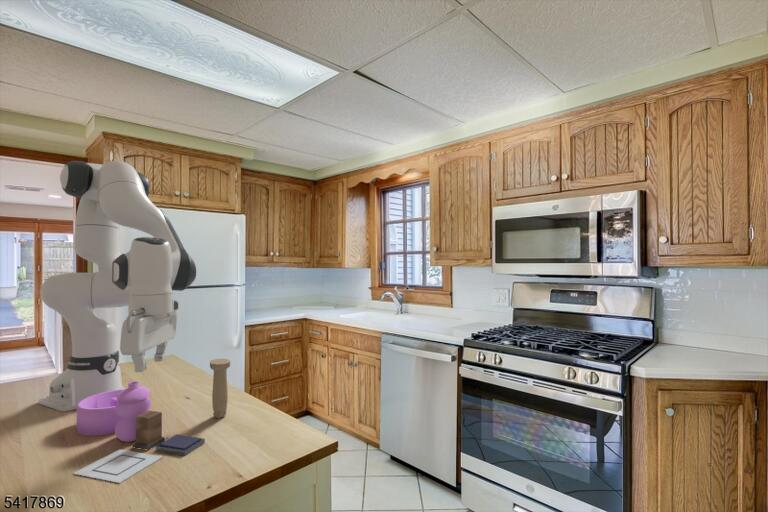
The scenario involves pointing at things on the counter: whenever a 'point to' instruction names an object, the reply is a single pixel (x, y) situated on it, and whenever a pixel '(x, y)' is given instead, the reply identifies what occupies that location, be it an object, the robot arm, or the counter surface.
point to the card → (118, 466)
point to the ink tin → (180, 444)
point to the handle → (219, 386)
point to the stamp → (148, 430)
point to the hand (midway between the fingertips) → (150, 365)
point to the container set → (113, 412)
